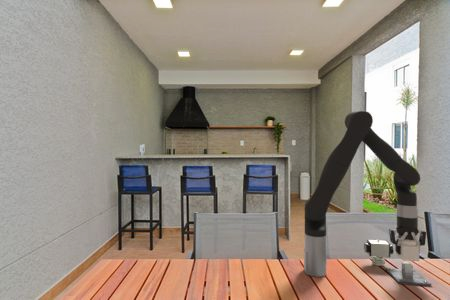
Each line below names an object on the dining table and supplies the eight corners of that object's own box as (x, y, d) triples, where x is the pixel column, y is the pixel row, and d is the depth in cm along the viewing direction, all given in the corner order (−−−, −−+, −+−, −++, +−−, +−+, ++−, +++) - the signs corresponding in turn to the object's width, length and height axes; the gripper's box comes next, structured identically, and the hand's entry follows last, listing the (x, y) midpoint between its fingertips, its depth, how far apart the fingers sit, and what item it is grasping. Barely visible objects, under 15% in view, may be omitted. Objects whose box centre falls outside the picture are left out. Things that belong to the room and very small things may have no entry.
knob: (403, 260, 116) (402, 240, 116) (396, 255, 122) (396, 235, 122) (419, 261, 115) (419, 240, 115) (411, 255, 121) (411, 236, 121)
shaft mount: (398, 283, 113) (398, 269, 113) (385, 270, 126) (385, 257, 126) (431, 286, 111) (431, 271, 111) (414, 272, 124) (414, 258, 124)
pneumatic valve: (393, 267, 129) (393, 242, 129) (366, 265, 131) (366, 240, 131) (389, 263, 134) (389, 238, 134) (363, 261, 137) (363, 236, 137)
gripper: (392, 216, 116) (393, 256, 116) (430, 217, 114) (431, 258, 114) (385, 212, 124) (385, 250, 123) (420, 213, 121) (421, 252, 121)
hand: (407, 254), depth 119 cm, fingers closed on knob, 6 cm apart
